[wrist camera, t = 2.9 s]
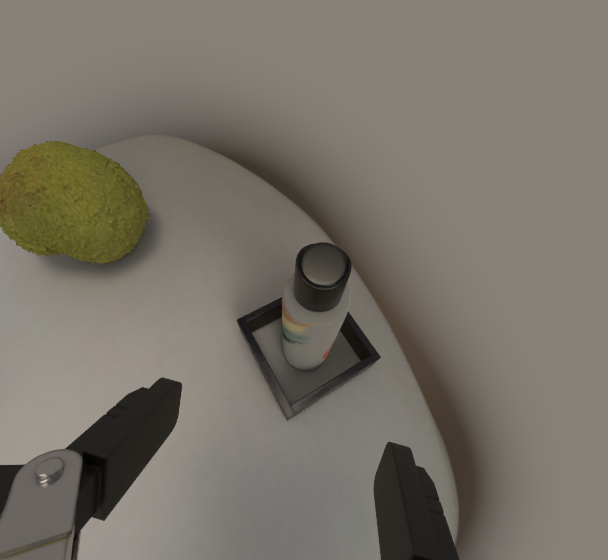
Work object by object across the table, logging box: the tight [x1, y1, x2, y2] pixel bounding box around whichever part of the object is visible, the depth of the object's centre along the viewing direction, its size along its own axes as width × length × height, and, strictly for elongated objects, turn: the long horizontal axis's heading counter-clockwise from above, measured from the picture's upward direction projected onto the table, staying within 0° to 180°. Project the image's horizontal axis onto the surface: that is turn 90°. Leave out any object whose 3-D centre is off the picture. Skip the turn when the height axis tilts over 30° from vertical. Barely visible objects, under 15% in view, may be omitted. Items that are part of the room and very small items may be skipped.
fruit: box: [0, 141, 149, 264], centre depth 38 cm, size 16×14×15 cm
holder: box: [237, 298, 381, 421], centre depth 35 cm, size 12×12×4 cm
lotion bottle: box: [282, 243, 351, 370], centre depth 28 cm, size 6×6×20 cm
